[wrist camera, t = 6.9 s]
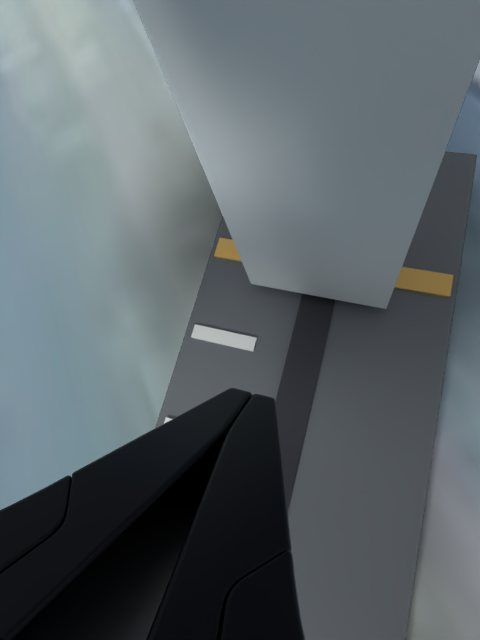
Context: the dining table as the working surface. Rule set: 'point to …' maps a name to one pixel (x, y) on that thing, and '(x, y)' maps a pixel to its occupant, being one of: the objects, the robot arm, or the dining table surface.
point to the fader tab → (319, 126)
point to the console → (341, 409)
